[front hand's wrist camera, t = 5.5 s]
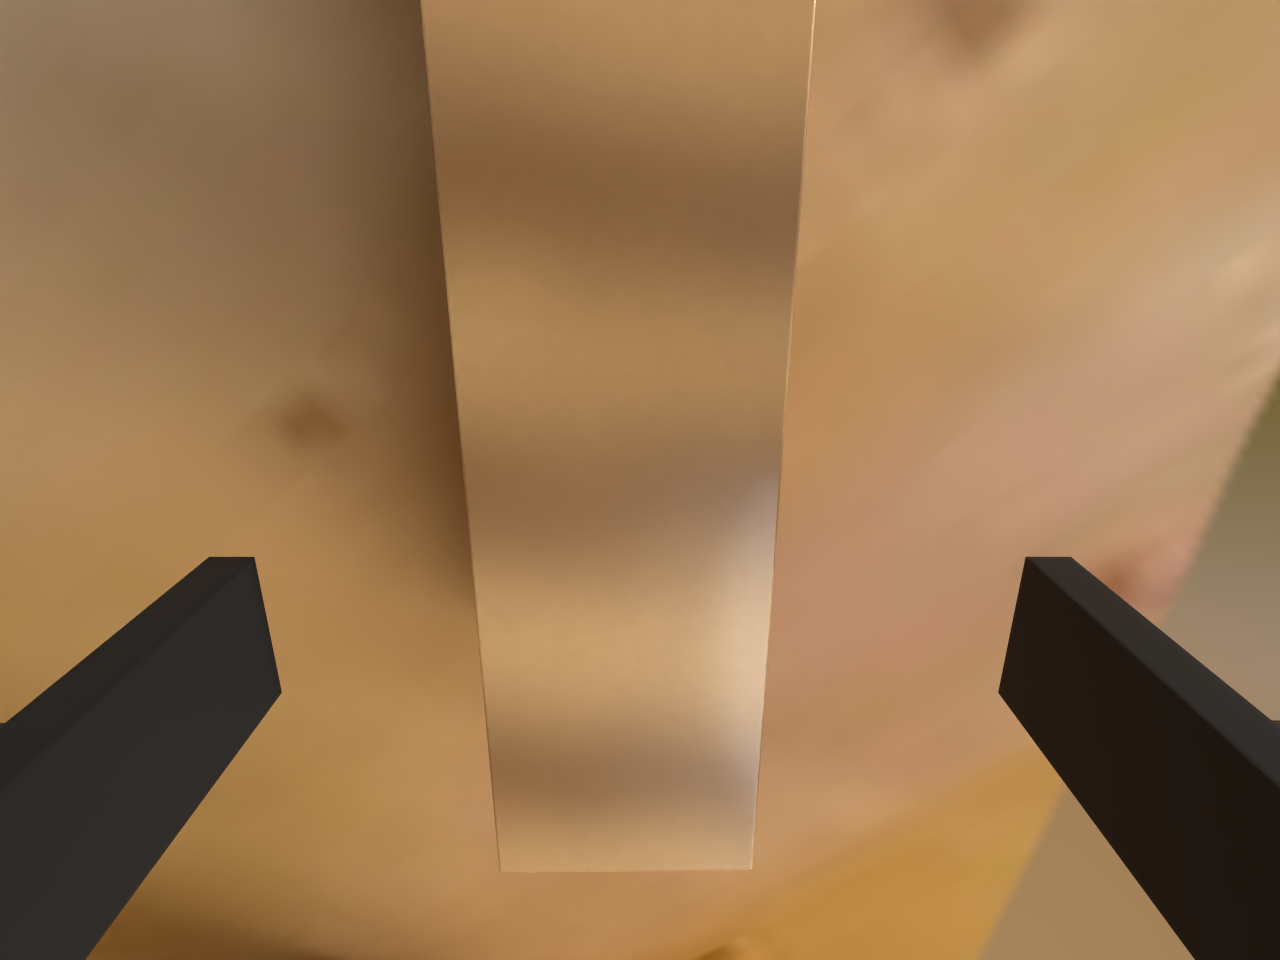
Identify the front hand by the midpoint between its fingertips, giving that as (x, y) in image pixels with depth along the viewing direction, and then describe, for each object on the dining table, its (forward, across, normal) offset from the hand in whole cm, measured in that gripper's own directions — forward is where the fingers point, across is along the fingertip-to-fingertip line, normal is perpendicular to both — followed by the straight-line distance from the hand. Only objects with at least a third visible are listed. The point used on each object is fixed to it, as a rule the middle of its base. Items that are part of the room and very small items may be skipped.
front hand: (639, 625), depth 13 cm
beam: (+8, 0, -24) cm, 25 cm away
